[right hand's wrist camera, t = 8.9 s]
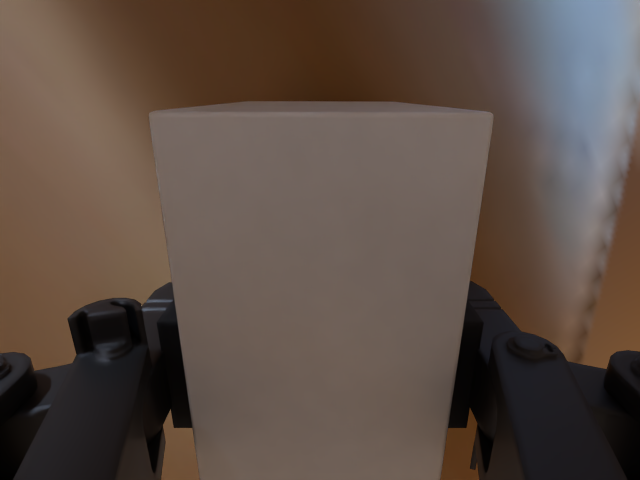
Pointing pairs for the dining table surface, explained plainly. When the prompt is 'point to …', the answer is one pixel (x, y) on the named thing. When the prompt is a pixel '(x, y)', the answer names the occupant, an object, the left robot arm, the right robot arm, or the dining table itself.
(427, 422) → the bar
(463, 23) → the dining table surface
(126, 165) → the dining table surface
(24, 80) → the dining table surface
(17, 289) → the dining table surface
